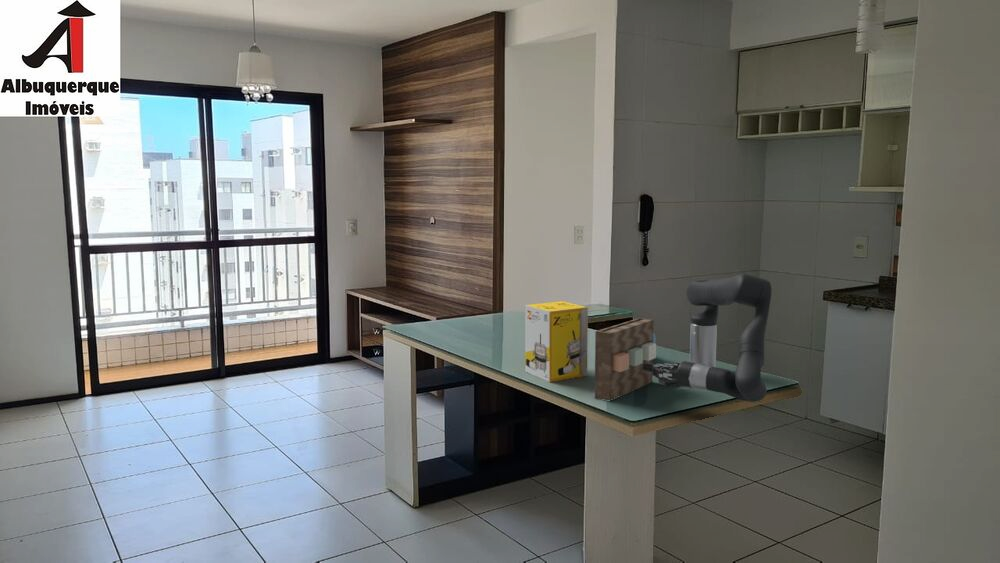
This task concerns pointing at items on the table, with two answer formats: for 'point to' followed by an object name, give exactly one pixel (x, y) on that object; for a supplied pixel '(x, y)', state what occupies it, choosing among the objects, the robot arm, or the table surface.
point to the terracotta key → (620, 361)
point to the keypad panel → (620, 341)
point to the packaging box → (556, 340)
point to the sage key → (635, 356)
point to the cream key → (649, 351)
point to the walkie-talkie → (668, 382)
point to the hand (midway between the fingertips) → (644, 366)
